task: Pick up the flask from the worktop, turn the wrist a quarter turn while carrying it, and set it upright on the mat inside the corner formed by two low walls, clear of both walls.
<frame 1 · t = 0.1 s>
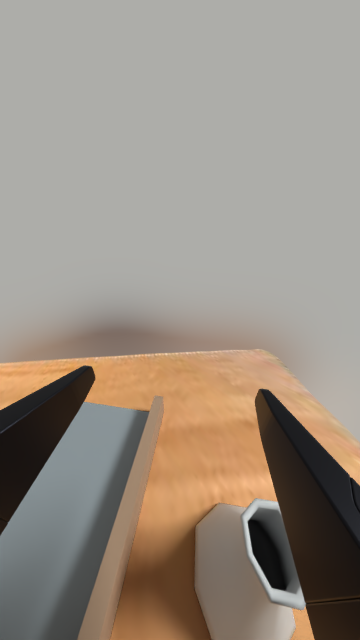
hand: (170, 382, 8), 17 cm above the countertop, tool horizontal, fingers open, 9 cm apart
flask: (237, 570, 13), on the countertop
corner arena: (64, 475, 17), on the countertop
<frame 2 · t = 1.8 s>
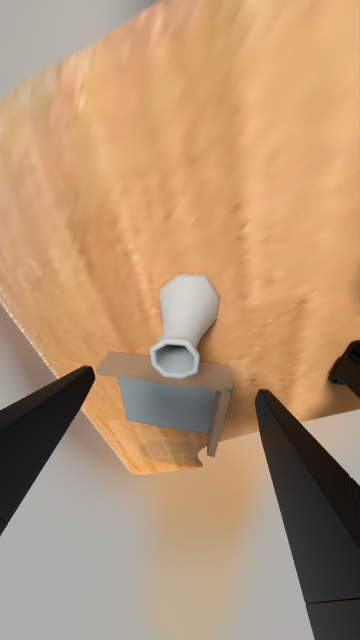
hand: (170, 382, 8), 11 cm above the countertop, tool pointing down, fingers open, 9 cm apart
flask: (188, 302, 19), on the countertop
corner arena: (165, 398, 27), on the countertop
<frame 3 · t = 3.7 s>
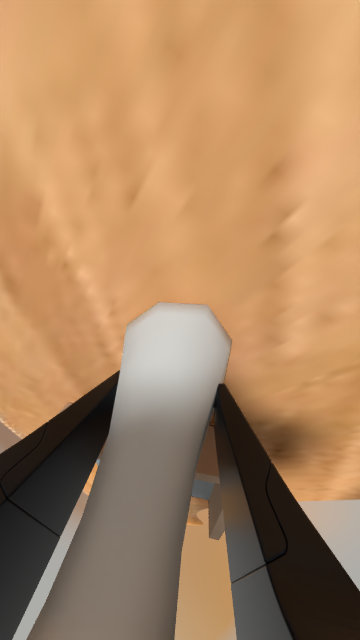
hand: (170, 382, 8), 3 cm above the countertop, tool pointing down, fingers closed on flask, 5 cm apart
flask: (179, 345, 11), on the countertop, touching gripper
corner arena: (151, 459, 20), on the countertop
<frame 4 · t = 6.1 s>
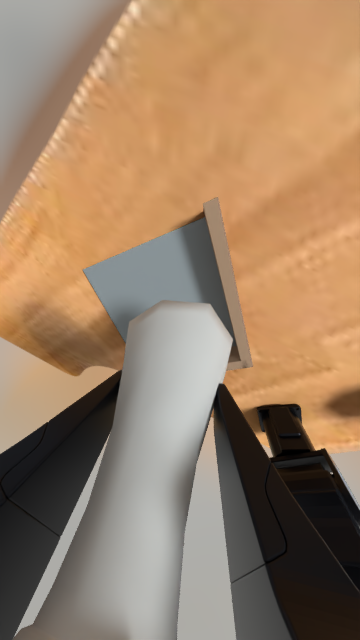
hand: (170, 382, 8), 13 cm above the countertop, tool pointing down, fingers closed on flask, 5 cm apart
flask: (180, 343, 11), point 10 cm above the countertop, touching gripper
corner arena: (163, 308, 21), on the countertop
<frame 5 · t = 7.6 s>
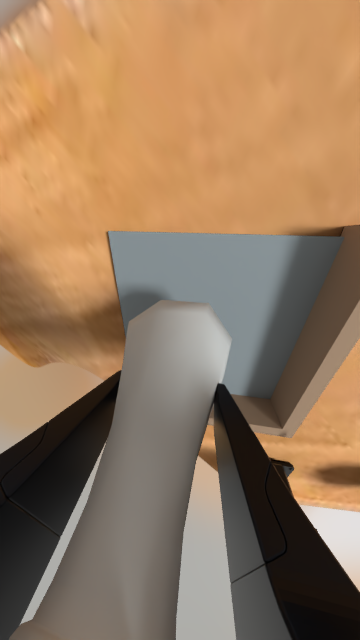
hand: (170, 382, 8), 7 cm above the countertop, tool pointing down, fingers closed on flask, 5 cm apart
flask: (179, 343, 11), point 4 cm above the countertop, touching gripper
corner arena: (205, 329, 15), on the countertop
when the fingers open (4 cm above the countertop, at t = 8.9 s): flask stays where it is, resting on corner arena.
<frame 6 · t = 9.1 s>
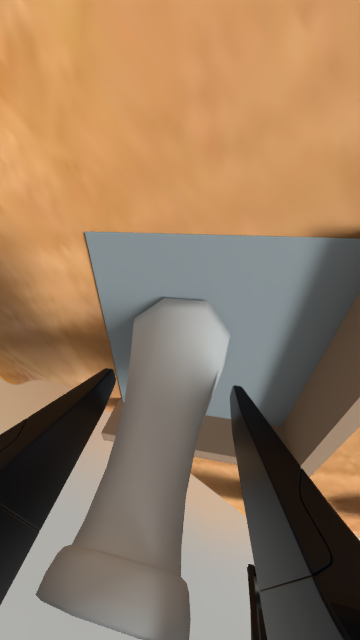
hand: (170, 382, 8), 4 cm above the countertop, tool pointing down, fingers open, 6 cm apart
flask: (181, 338, 12), resting on corner arena
corner arena: (205, 348, 13), on the countertop
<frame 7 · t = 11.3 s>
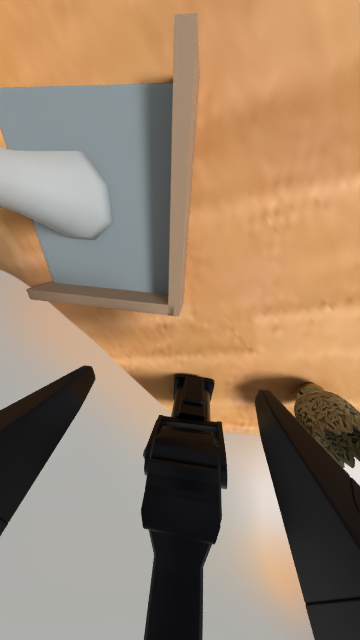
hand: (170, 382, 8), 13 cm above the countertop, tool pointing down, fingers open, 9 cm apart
flask: (80, 200, 16), resting on corner arena
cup: (306, 388, 24), on the countertop
corner arena: (101, 212, 16), on the countertop
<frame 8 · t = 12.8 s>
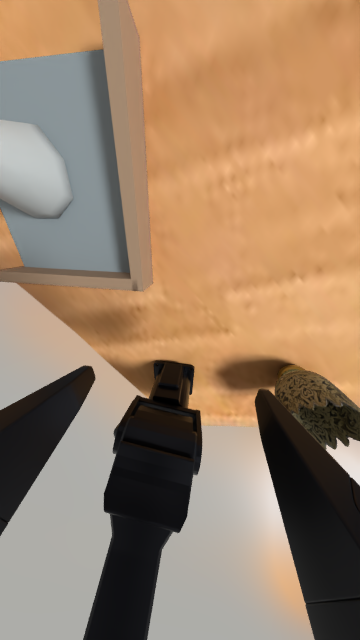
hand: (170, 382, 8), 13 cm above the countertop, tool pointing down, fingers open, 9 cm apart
flask: (41, 178, 16), resting on corner arena
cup: (288, 371, 23), on the countertop
corner arena: (62, 190, 16), on the countertop
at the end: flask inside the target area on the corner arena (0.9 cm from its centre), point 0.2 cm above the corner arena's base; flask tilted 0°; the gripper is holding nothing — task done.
